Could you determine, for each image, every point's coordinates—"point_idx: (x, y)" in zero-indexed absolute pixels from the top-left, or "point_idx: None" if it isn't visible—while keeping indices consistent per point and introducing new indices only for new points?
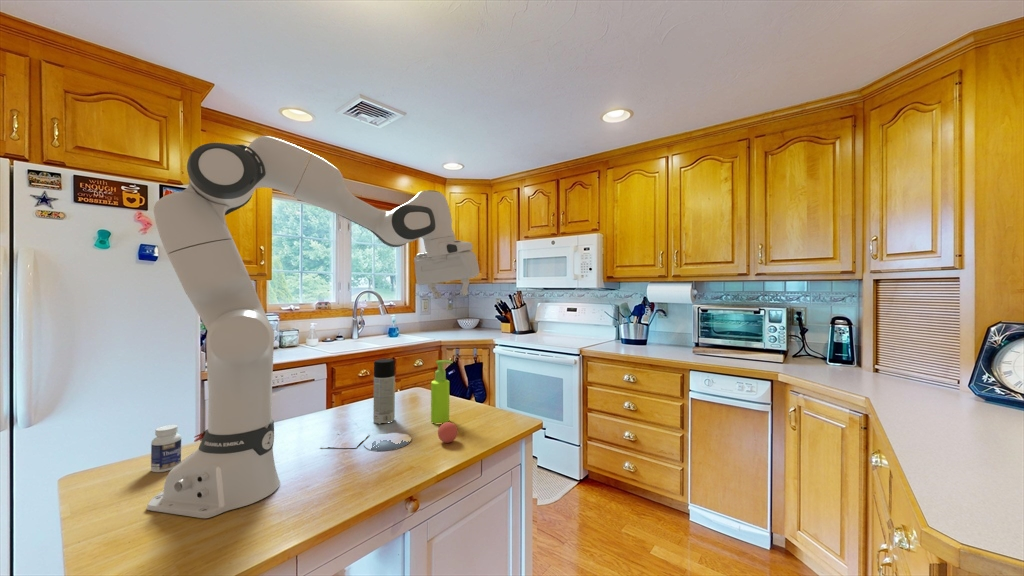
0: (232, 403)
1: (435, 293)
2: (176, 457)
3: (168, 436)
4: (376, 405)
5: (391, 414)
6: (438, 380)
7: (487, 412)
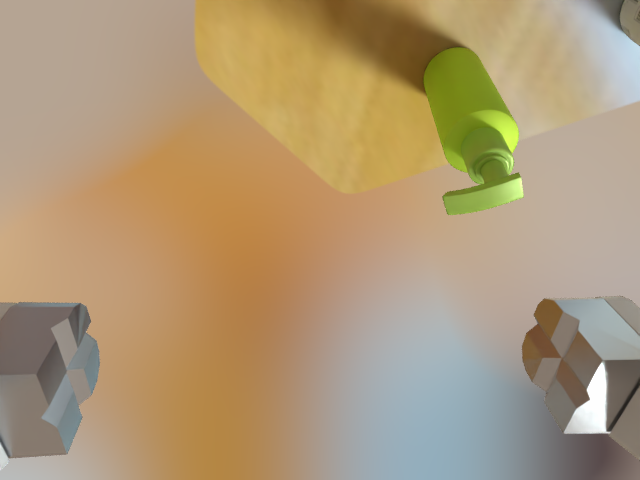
0: None
1: (630, 353)
2: None
3: None
4: None
5: (635, 7)
6: (483, 129)
7: (349, 191)
